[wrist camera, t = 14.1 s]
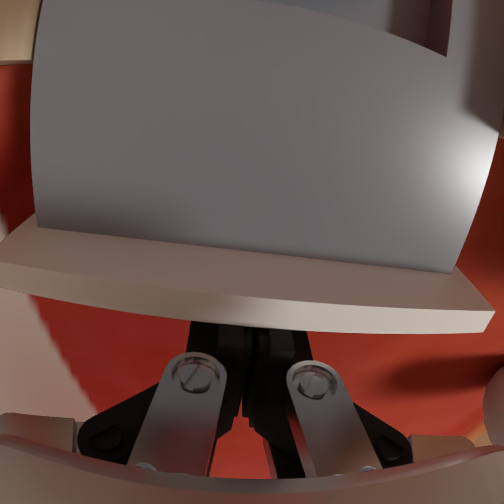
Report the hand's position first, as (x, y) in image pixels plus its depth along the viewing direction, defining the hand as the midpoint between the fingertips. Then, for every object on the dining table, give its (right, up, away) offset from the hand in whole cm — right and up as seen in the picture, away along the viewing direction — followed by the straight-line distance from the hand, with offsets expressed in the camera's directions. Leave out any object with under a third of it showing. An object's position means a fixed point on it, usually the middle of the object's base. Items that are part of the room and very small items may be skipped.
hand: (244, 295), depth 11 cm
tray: (+1, +9, -3) cm, 10 cm away
